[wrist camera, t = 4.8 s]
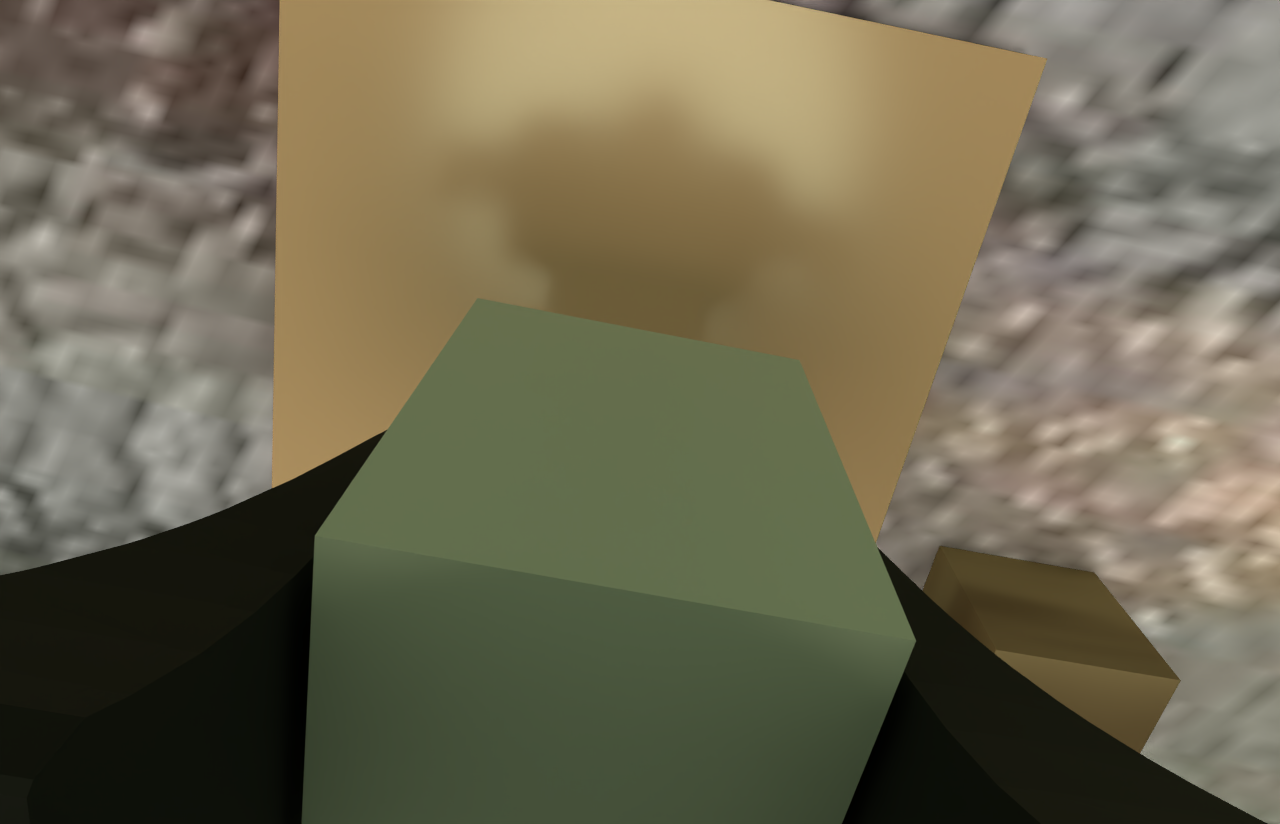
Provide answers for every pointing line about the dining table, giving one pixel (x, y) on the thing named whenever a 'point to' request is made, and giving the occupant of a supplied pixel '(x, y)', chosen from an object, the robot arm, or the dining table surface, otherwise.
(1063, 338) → the dining table surface
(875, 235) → the tan flat square slab
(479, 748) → the sage block
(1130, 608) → the dining table surface
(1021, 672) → the walnut block
